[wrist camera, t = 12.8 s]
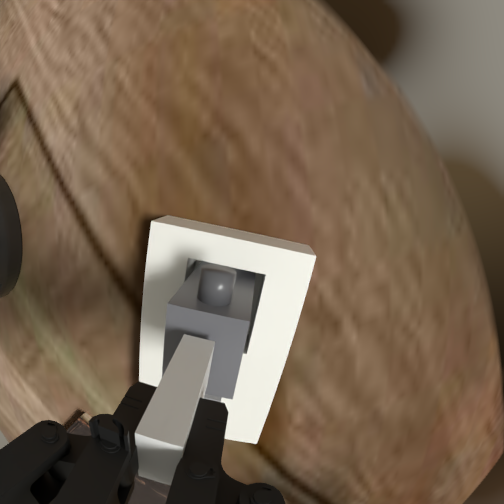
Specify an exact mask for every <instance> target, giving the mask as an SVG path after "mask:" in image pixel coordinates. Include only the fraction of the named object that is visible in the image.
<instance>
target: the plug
mask: <svg viewBox="0 0 504 504" xmlns="http://www.w3.org/2000/svg"><path fill="white" fill-rule="evenodd" d="M255 275H256V272H251V271H247V270H242V269H237V268H233V267H228V266H224V265H219V264H214V263H210V262H205V261H201V262H200V264H199V265H198V266H197V267H196V268H195V270H194V271H193V272H192V273H191V275H190V276H189V277H188V278H187V280H186V281H185V282H184V283H183V284H182V286H181V287H180V288H179V289H178V291H177V292H176V293H175V294H174V296H173V297H172V298H171V299H170V301H169V302H168V303H167V313H166V324H165V336H164V350H163V366H162V377H163V375H164V373H165V371H166V369H167V367H168V365H169V363H170V361H171V359H172V357H173V355H174V353H175V351H176V349H177V347H178V345H179V343H180V341H181V339H182V337H183V335H184V334H186V335H190V336H194V337H198V338H202V339H206V340H211V341H215V345H214V351H213V356H212V362H211V367H210V373H209V378H208V384H207V388H206V391H205V394H208V395H213V396H217V397H222V398H227V399H232V400H233V396H234V391H235V387H236V382H237V378H238V374H239V369H240V365H241V360H242V356H243V351H244V347H245V342H246V338H247V333H248V329H249V324H250V318H251V309H252V301H253V292H254V284H255Z"/></svg>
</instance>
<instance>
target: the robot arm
mask: <svg viewBox="0 0 504 504" xmlns="http://www.w3.org/2000/svg"><path fill="white" fill-rule="evenodd" d="M21 259H22V237H21V228H20V221H19V216H18V212H17V208H16V204H15V201H14V198H13V195H12V193H11V191H10V189H9V187H8V185H7V183H6V182H5V180H4V179H3V178H2V177H1V175H0V298H1V297H3V296H5V295H7V294H8V293H9V292H10V291H11V290H12V289H13V288H14V286H15V284H16V282H17V279H18V276H19V272H20V267H21ZM214 345H215V341H211V340H206V339H202V338H198V337H194V336H190V335H186V334H184V335H183V337H182V339H181V341H180V343H179V345H178V347H177V349H176V351H175V353H174V355H173V357H172V359H171V361H170V363H169V365H168V367H167V369H166V371H165V373H164V375H163V377H162V379H161V381H160V383H159V385H158V387H156V386H152V385H149V384H146V383H143V382H137V383H136V384H134V385H133V386H131V387H130V388H129V390H128V391H127V393H126V394H125V397H124V398H123V399H122V401H121V404H119V406H118V408H117V409H116V411H115V412H114V414H113V415H110V414H99V415H97V416H94V417H92V418H91V419H90V420H89V421H88V422H89V427H90V431H91V436H83V435H77V434H71V433H67V431H66V429H65V428H64V427H63V426H62V425H61V424H59V423H57V422H55V421H51V420H46V421H41V422H39V423H37V424H35V425H34V426H33V427H31V428H30V429H28V430H27V431H26V432H24V433H23V434H21V435H20V436H19V437H17V438H16V439H14V440H13V441H12V442H10V443H9V444H7V445H6V446H5V447H3V448H2V449H0V504H128V503H129V500H130V497H131V495H132V492H133V490H134V486H135V480H134V479H135V476H136V474H137V471H138V474H139V476H141V477H144V478H147V479H151V480H154V481H157V482H161V483H164V484H168V485H171V486H170V490H169V493H168V497H167V500H166V503H165V504H285V501H284V498H283V496H282V494H281V493H280V491H279V490H278V489H276V488H275V487H274V486H271V485H269V484H266V483H254V484H249V485H246V484H243V483H241V482H238V481H236V480H234V479H233V478H231V477H230V476H228V475H227V474H226V473H225V471H224V470H223V468H222V465H221V457H222V451H223V444H224V438H225V431H226V426H227V419H228V413H229V412H228V410H227V408H226V405H225V403H222V402H218V401H213V400H208V399H204V395H205V391H206V388H207V384H208V378H209V373H210V367H211V362H212V356H213V351H214Z"/></svg>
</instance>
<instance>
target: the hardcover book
mask: <svg viewBox="0 0 504 504" xmlns="http://www.w3.org/2000/svg"><path fill="white" fill-rule="evenodd" d="M91 418H92V417H91V416H89V415H88V414H87V413H86V412H85V413H84V414H83V415H82V416H81V417H79V418H78V419H77V420H76V421H75V422H74V423H73V424H72V425H71V426H70V427H69V428H68V429H67V430H66V431H67V433H71V434H77V435H83V436H91V431H90V427H89V422H88V421H89V420H90V419H91ZM134 480H135V486H134V490H133V492H132V495H131V497H130V500H129V503H128V504H165V503H166V500H167V497H168V493H169V490H170V486H171V485H168V484H164V483H161V482H157V481H154V480H151V479H147V478H144V477H141V476H139V474H138V471H137V474H136V476H135V479H134Z"/></svg>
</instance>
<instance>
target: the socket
mask: <svg viewBox="0 0 504 504" xmlns="http://www.w3.org/2000/svg"><path fill="white" fill-rule="evenodd" d="M315 259H316V255H315V253H314V252H313V251H312V249H311V248H310V246H309V245H306V244H301V243H297V242H292V241H288V240H283V239H278V238H274V237H269V236H265V235H260V234H255V233H251V232H246V231H241V230H237V229H232V228H227V227H223V226H218V225H213V224H208V223H203V222H198V221H194V220H189V219H184V218H179V217H174V216H169V215H167V216H164V217H161V218H158V219H155V220H152V221H151V227H150V234H149V242H148V250H147V259H146V268H145V278H144V288H143V300H142V315H141V332H140V358H139V382H143V383H146V384H149V385H152V386H156V387H158V385H159V383H160V381H161V379H162V366H163V350H164V336H165V324H166V313H167V303H168V302H169V301H170V299H171V298H172V297H173V296H174V294H175V293H176V292H177V291H178V289H179V288H180V287H181V286H182V284H183V283H184V282H185V281H186V280H187V278H188V277H189V276H190V275H191V273H192V272H193V271H194V270H195V268H196V267H197V266H198V265H199V264H200V262H201V261H205V262H210V263H214V264H219V265H224V266H228V267H233V268H237V269H242V270H247V271H251V272H256V275H255V284H254V292H253V301H252V309H251V318H250V324H249V329H248V333H247V338H246V342H245V347H244V351H243V356H242V360H241V365H240V369H239V374H238V378H237V382H236V387H235V391H234V396H233V400H232V399H227V398H222V397H217V396H213V395H208V394H205V395H204V399H208V400H213V401H218V402H222V403H225V405H226V408H227V410H228V412H229V413H228V419H227V426H226V431H225V439H230V440H235V441H241V442H247V443H254V444H257V442H258V439H259V436H260V434H261V431H262V428H263V426H264V423H265V420H266V417H267V415H268V412H269V409H270V406H271V403H272V400H273V398H274V395H275V392H276V389H277V386H278V383H279V380H280V377H281V374H282V371H283V368H284V365H285V362H286V359H287V356H288V352H289V349H290V346H291V343H292V340H293V336H294V333H295V330H296V327H297V323H298V320H299V317H300V313H301V310H302V306H303V303H304V299H305V296H306V292H307V289H308V285H309V282H310V278H311V274H312V271H313V267H314V263H315Z"/></svg>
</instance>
